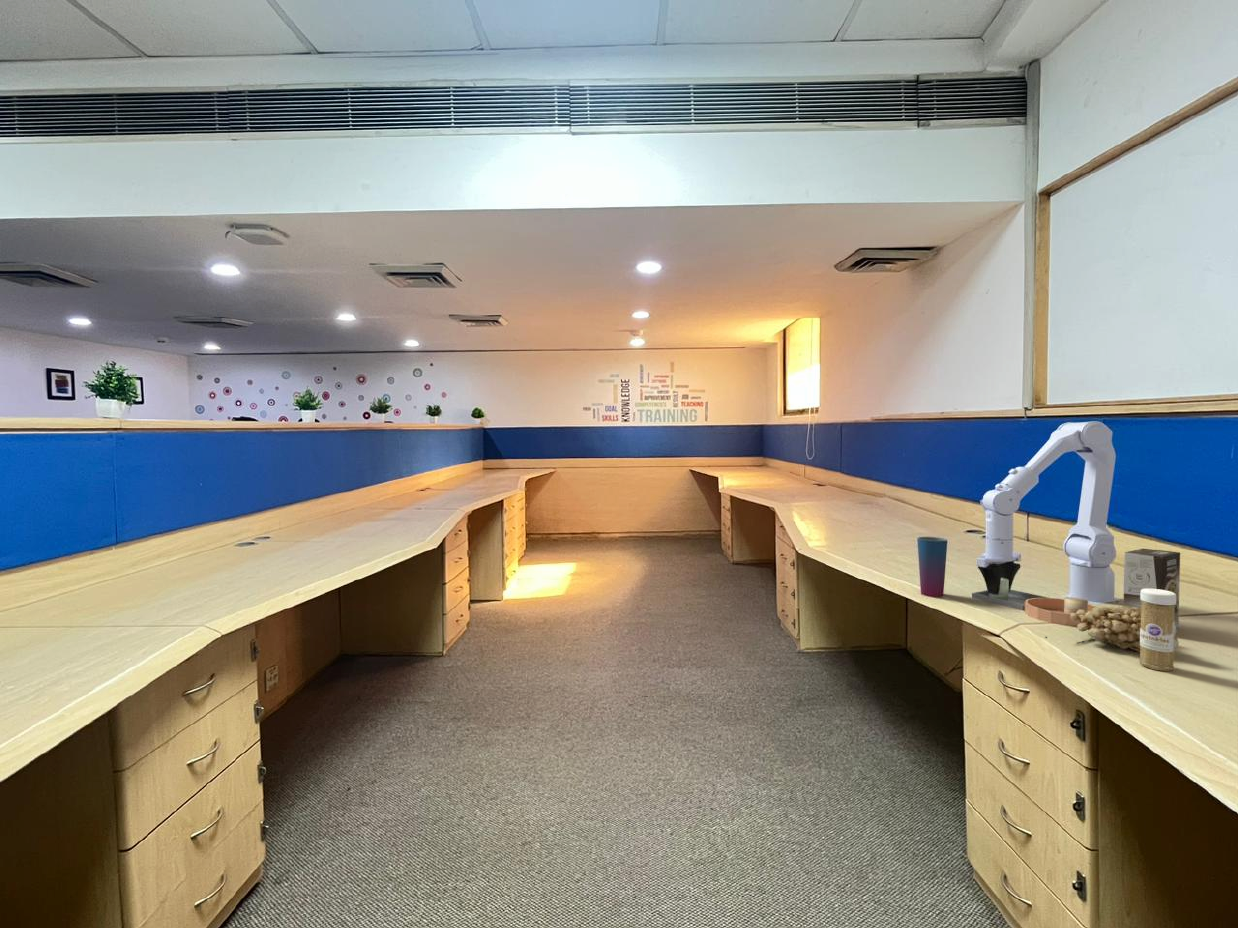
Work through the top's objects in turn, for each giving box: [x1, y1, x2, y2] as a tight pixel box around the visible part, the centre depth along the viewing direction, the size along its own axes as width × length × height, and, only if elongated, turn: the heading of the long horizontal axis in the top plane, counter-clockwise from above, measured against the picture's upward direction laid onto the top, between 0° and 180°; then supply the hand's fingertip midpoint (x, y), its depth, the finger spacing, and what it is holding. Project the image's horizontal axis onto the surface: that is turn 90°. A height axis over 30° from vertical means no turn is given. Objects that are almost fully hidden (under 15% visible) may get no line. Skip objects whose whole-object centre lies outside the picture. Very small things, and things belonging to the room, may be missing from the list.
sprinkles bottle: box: [1138, 588, 1176, 672], centre depth 100 cm, size 5×5×14 cm
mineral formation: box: [1070, 606, 1180, 653], centre depth 111 cm, size 8×13×15 cm
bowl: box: [1024, 597, 1096, 627], centre depth 127 cm, size 13×13×3 cm
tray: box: [971, 588, 1049, 611], centre depth 140 cm, size 12×12×2 cm
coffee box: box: [1122, 548, 1181, 629], centre depth 120 cm, size 9×6×16 cm
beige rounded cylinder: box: [1063, 597, 1089, 614], centre depth 124 cm, size 4×4×4 cm
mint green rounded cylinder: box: [989, 578, 1009, 599], centre depth 143 cm, size 4×4×4 cm
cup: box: [916, 536, 948, 598], centre depth 146 cm, size 7×7×15 cm
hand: (998, 592), depth 143 cm, fingers closed on mint green rounded cylinder, 4 cm apart
